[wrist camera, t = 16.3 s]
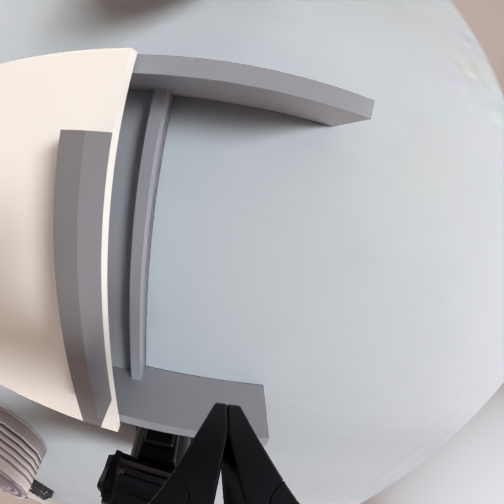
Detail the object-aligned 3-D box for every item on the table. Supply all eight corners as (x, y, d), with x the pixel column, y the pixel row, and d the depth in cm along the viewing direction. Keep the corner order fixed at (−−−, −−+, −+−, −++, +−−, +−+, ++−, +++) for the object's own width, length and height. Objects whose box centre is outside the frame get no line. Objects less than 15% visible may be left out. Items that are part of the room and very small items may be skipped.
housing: (260, 392, 25) (265, 444, 20) (12, 330, 23) (-19, 363, 17) (335, 112, 18) (374, 100, 12) (8, 86, 15) (-41, 80, 9)
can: (-17, 398, 28) (-48, 444, 16) (27, 416, 28) (-4, 474, 17) (13, 441, 31) (-9, 485, 20) (58, 458, 32) (38, 510, 20)
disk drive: (54, 489, 39) (3, 454, 35) (51, 497, 37) (-1, 462, 33) (47, 493, 42) (0, 462, 38) (44, 500, 39) (-3, 469, 35)
